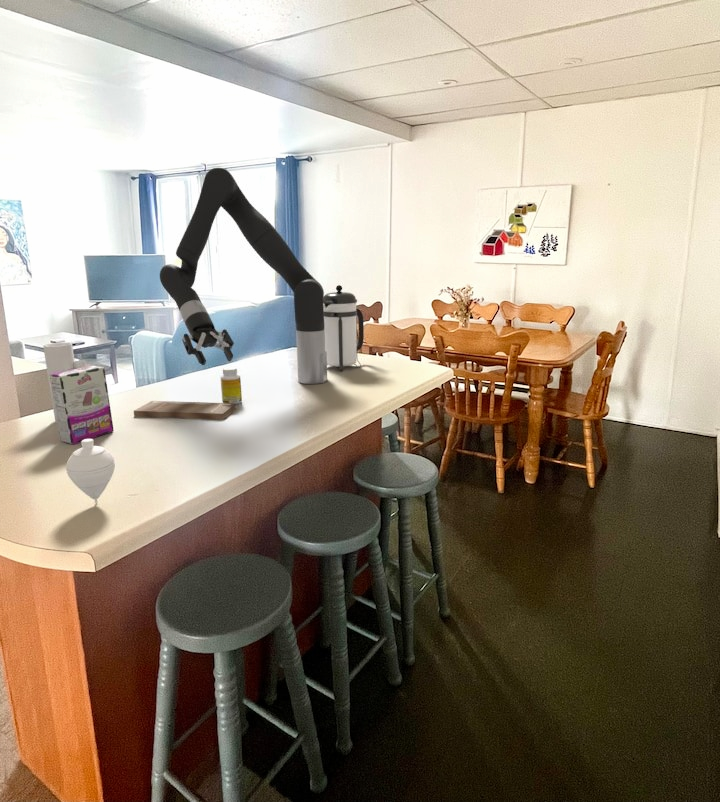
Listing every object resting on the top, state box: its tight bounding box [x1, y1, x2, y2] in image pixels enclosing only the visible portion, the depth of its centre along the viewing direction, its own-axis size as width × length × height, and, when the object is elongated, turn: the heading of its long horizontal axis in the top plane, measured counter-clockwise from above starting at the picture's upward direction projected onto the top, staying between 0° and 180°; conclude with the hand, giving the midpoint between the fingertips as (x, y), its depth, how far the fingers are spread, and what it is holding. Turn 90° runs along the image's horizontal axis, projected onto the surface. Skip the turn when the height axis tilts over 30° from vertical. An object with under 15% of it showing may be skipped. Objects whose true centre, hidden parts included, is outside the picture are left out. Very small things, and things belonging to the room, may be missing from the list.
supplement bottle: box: [220, 366, 243, 405], centre depth 163 cm, size 6×6×10 cm
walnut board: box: [133, 400, 238, 420], centre depth 155 cm, size 25×10×2 cm, turn 82°
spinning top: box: [65, 438, 116, 505], centre depth 99 cm, size 8×8×12 cm
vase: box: [42, 342, 87, 424], centre depth 147 cm, size 11×7×20 cm, turn 66°
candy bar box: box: [50, 364, 115, 445], centre depth 134 cm, size 11×5×16 cm, turn 148°
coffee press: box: [323, 284, 365, 372], centre depth 208 cm, size 17×16×30 cm
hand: (217, 361), depth 166 cm, fingers open, 8 cm apart
